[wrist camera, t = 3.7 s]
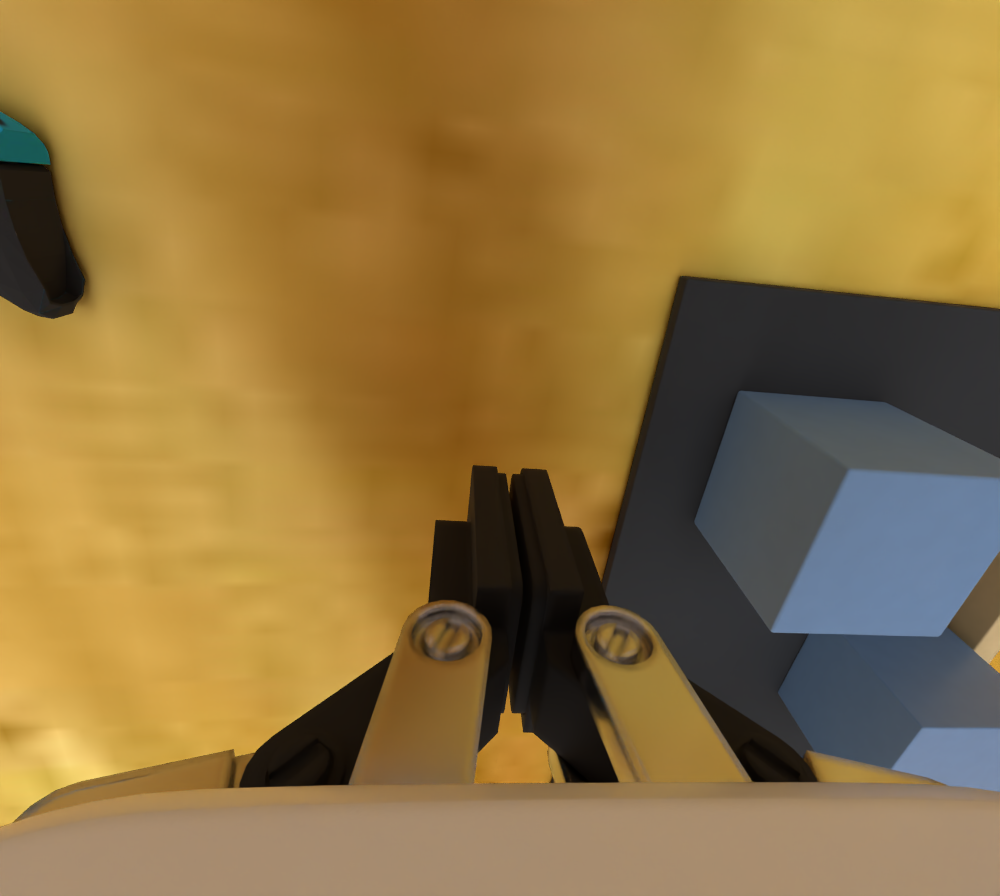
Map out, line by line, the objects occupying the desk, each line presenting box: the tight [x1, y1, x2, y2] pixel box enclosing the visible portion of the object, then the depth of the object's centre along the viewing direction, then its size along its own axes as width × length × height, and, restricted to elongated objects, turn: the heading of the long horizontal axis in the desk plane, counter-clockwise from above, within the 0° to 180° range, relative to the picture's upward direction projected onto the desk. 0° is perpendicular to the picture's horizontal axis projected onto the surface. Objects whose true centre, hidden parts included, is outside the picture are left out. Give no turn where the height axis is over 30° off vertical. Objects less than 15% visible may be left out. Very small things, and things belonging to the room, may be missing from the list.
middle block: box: [778, 627, 1000, 792], centre depth 17 cm, size 4×4×4 cm
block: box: [694, 391, 1000, 637], centre depth 13 cm, size 4×4×4 cm
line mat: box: [551, 276, 1000, 783], centre depth 18 cm, size 26×14×2 cm, turn 174°
